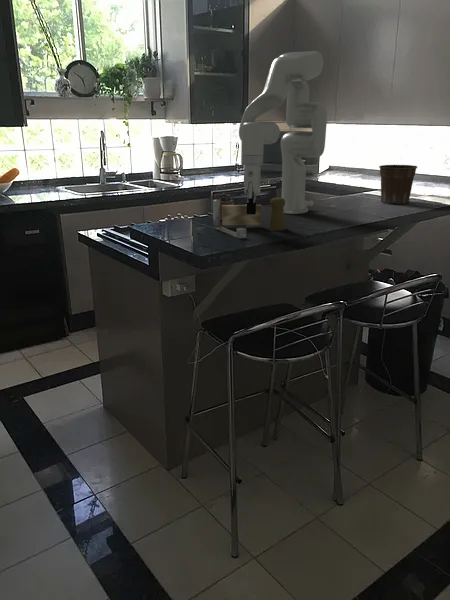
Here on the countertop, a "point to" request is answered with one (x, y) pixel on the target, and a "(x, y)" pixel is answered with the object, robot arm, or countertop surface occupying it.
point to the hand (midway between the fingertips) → (251, 213)
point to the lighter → (223, 201)
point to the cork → (277, 214)
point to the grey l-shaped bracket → (239, 232)
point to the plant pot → (396, 183)
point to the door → (240, 215)
